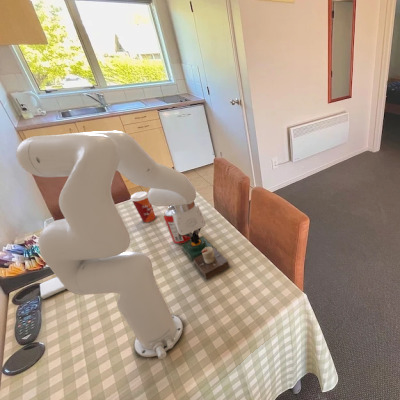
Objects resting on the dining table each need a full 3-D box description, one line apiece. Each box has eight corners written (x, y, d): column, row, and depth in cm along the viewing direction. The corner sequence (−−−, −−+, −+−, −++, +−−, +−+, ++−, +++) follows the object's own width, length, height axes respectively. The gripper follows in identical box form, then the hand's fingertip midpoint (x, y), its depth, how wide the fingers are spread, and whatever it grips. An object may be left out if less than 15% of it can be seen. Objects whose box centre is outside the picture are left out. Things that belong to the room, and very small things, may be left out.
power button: (203, 245, 111) (202, 242, 110) (194, 249, 109) (193, 246, 108) (199, 241, 113) (198, 238, 112) (191, 245, 111) (189, 242, 110)
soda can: (176, 247, 114) (165, 219, 106) (171, 239, 119) (160, 211, 111) (195, 239, 118) (185, 211, 110) (189, 231, 123) (179, 204, 115)
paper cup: (152, 223, 130) (142, 198, 122) (137, 223, 130) (125, 198, 122) (161, 214, 136) (151, 190, 129) (146, 214, 136) (136, 190, 129)
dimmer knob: (212, 254, 105) (209, 244, 102) (217, 260, 102) (214, 249, 100) (203, 260, 103) (199, 249, 100) (207, 265, 100) (204, 254, 97)
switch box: (213, 250, 112) (211, 243, 110) (192, 261, 106) (189, 253, 104) (203, 239, 118) (201, 232, 116) (183, 249, 113) (180, 242, 111)
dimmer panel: (229, 267, 103) (227, 261, 102) (206, 279, 98) (204, 273, 96) (216, 253, 110) (214, 247, 108) (195, 264, 105) (192, 258, 103)
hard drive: (42, 286, 96) (84, 268, 104) (43, 299, 91) (87, 279, 99) (39, 283, 95) (82, 265, 103) (40, 296, 90) (85, 276, 98)
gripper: (166, 216, 94) (181, 255, 103) (206, 201, 103) (217, 237, 112) (159, 208, 99) (174, 246, 108) (198, 194, 107) (209, 230, 117)
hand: (196, 241), depth 110 cm, fingers closed
